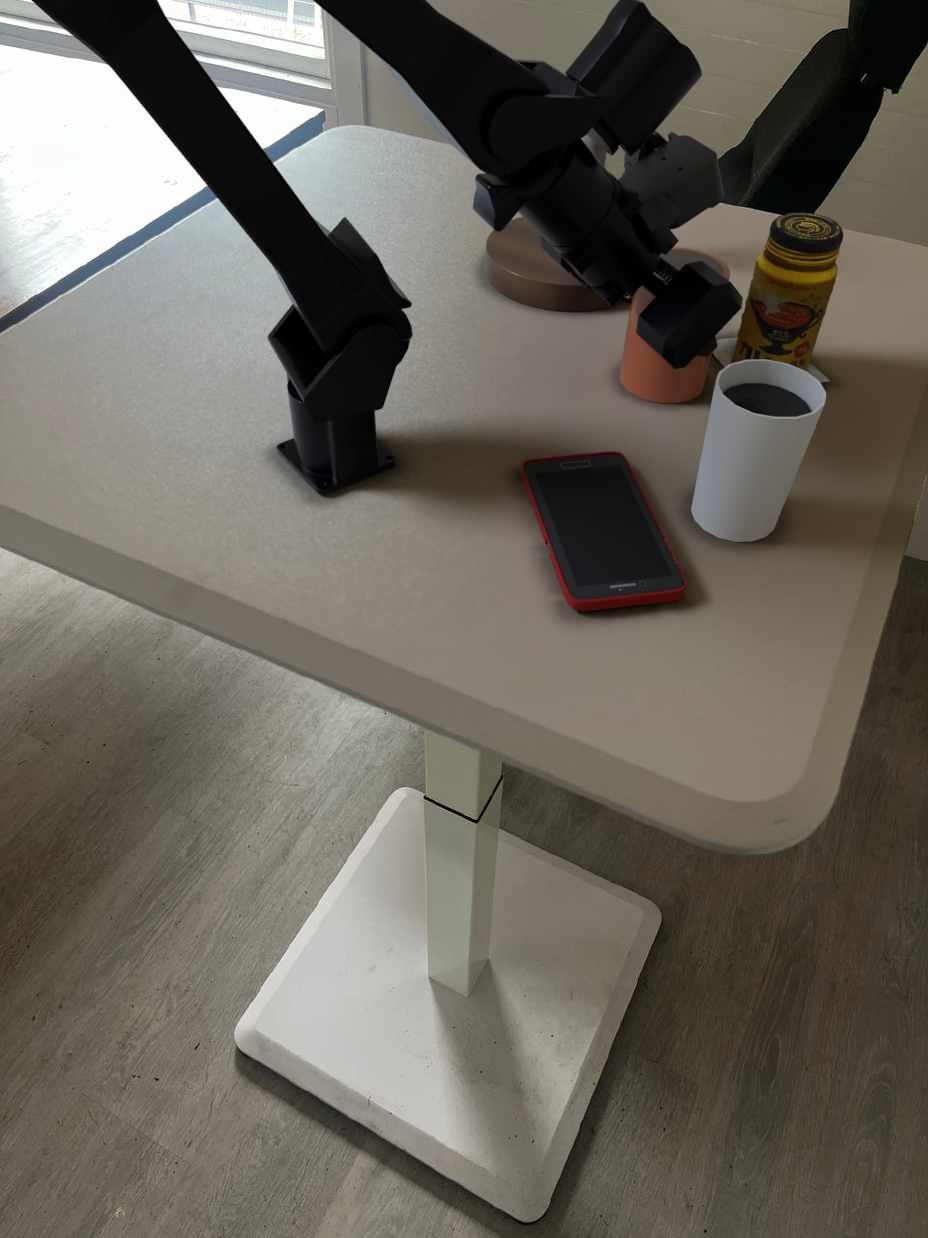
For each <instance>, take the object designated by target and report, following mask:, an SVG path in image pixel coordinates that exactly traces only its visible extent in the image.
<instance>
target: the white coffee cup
mask: <svg viewBox="0 0 928 1238" xmlns="http://www.w3.org/2000/svg"><path fill="white" fill-rule="evenodd" d="M826 398H827V392H826V390H825V388H824V386H823V385H822V382H821V383H820V381H818V380H817V379H816V378H814V377H813V376H812V375H810V374H809V373H808V372H806V371H804V370H802V369H799V368H797V367H795V366H792V365H790V364H787V363H782V362H777V361H772V360H767V359H766V360H743V361H739V362H736V363H732V364H729V365H728V366H726V367H723V368H722V369H721V370H719V371H718V374H717V377H716V380H715V383H714V388H713V393H712V399H711V403H710V404H711V405H710V409H709V414H708V418H707V425H706V428H705V435H704V439H703V440H704V441H703V444H702V451H701V456H700V460H699V466H698V471H697V477H696V481H695V487H694V492H693V496H692V503H691V507H690V511H691V514H692V518H693V520H694V522H695V523H696V524H697V525H698V526H699V527H700V528H701V529H702V530H703V531H704V532H706V533H708V534H710V535H712V536H714V537H716V538H717V539H722V540H725V541H730V542H735V543H744V542H746V543H750V542H751V543H753V542H755V541H758V540H761V539H765V538H767V537H768V536H769V535H770V534H771V533H772V532H773V531H774V530H775V527H776V525H777V523H778V520H779V518H780V516H781V514H782V513H781V512H782V511H783V508H784V505H785V503H786V501H787V498H788V496H789V493H790V491H791V489H792V486H793V483H794V481H795V478H796V476H797V473H798V471H799V469H800V466H801V465H802V461H803V459H804V457H805V455H806V453H807V449H808V447H809V444H810V442H811V439H812V437H813V434H814V432H815V430H816V427H817V424H818V422H819V421H820V416H821V415H822V412H823V410H824V407H825V404H826V400H827V399H826Z"/></svg>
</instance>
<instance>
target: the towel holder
mask: <svg viewBox="0 0 928 1238" xmlns="http://www.w3.org/2000/svg"><path fill="white" fill-rule="evenodd" d="M581 139H582V140H583V142H584V143H585V144H586V145H587V146H588V148H589V149H590V150H591V151H592V153H593V154H594V155H595V156H596V157H597V159H598V160H599V161H600V162H601V164H602V165H603V166H604V167H605V168H606V160H607V152H605V151H604V150H603V149H602V148H601V147H599V146H598V145H597V144H596V143H595V142H594V141H593V140H592V139H591V138H590V137H589V136H588V135H586V136H584V137H583V138H581ZM484 274H485V277H486V280H487V281H488V282H489V284H490V285H491V286H492V287H493V288H494V289H495V290H496V291H498V292H499V293H500V294H502V295H503V296H505V297H506V298H508V299H511V300H513V301H514V302H515V301H516V302H518V303H520V304H523V305H527V306H529V307H534V308H538V309H543V310H549V311H559V312H588V311H596V310H602V309H607V308H611V307H612V306H611V305H610V304H609V303H608V302H607V301H606V300H605V299H603V298H602V297H601V296H600V295H599V294H598V293H597V292H595V291H593V290H590V289H587V288H586V287H585V286H583V285H582V284H581V283H580V282H579V281H578V280H577V279H576V278H575V277H574V276H572V275H571V272H570V273H568V272H567V271H566V270H565V269H563V268H562V267H561V266H560V265H559V264H558V263H557V262H556V261H555V260H554V259H553V258H552V257H551V256H550V255H549V254H548V253H547V252H546V251H545V250H544V249H543V248H542V247H541V235H540V234H539V233H538V232H537V231H536V230H535V229H534V228H533V227H532V226H531V225H530V224H529V223H528V222H527V221H526V220H525V219H524V218H523V217H522V216H520V217H516V218H512V220H511V221H510V222H509V223H508V224H507V226H506V227H505V228H504V229H503V230H502V231H500V232H497V231H495V230H494V229H493V230H492V231H491V232H490V233H489V234H488V236H487V238H486V241H485V253H484ZM622 303H624V302H623V301H620V300H619V301H618V302H617V303H616V305H615V306H618V305H619V304H622Z"/></svg>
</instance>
